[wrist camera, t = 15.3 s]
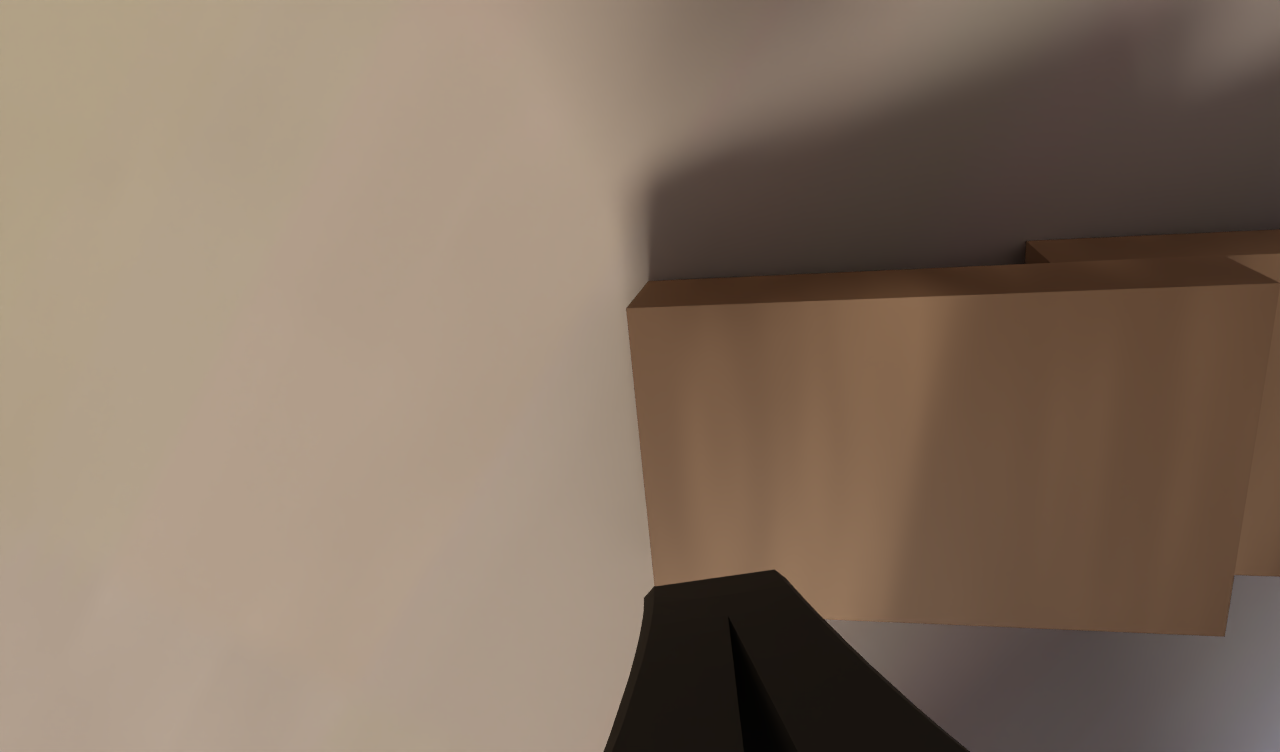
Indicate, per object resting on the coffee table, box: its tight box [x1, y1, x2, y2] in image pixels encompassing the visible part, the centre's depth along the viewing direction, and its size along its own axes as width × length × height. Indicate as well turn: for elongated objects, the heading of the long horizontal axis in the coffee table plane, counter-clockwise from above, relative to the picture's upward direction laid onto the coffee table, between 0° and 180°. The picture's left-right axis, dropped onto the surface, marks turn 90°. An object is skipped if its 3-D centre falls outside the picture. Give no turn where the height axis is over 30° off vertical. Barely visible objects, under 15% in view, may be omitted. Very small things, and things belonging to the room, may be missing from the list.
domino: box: [626, 255, 1280, 637], centre depth 12 cm, size 2×5×8 cm
